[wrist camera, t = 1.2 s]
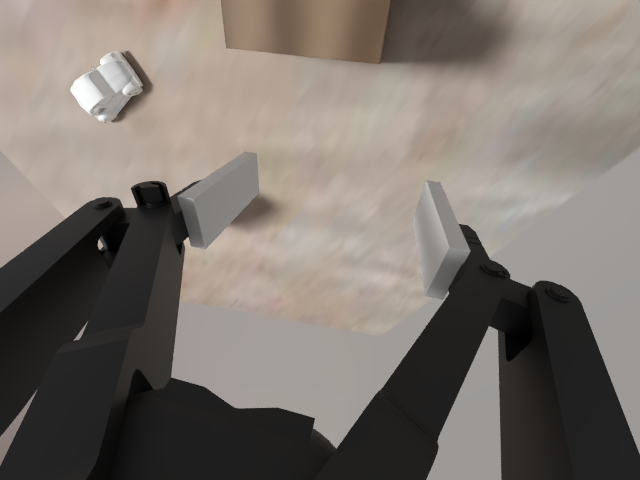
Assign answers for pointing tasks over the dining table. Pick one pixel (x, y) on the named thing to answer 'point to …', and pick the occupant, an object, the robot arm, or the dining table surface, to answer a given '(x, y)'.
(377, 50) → the t block
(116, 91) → the car
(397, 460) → the robot arm
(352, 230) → the dining table surface
